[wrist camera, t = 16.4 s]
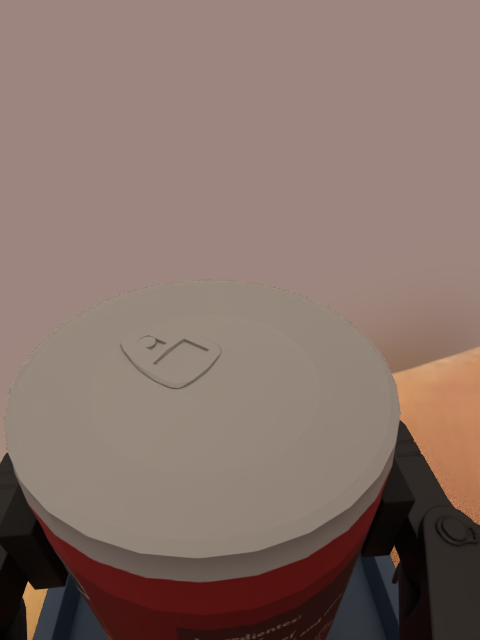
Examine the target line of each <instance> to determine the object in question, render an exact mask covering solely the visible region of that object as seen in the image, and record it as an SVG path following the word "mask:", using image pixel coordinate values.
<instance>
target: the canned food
mask: <svg viewBox="0 0 480 640" xmlns="http://www.w3.org/2000/svg"><path fill="white" fill-rule="evenodd" d="M400 414H401V412H400V405H399V399H398V392H397V385H396V383H395V380H394V378H393V376H392V374H391V371H390V369H389V367H388V365H387V362H386V360H385V359H384V358H383V356H382V355H381V354H380V352H379V351H378V350H377V348H376V347H375V346H374V344H373V343H372V342H371V340H370V339H369V338H368V337H367V336H365V335H364V334H363V333H362V332H361V331H360V330H359V329H358V328H357V327H356V326H354V325H353V324H352V323H351V322H350V321H348V320H347V319H345V318H344V317H342V316H340V315H339V314H338V313H336V312H334V311H333V310H331V309H330V308H328V307H326V306H324V305H322V304H319V303H317V302H315V301H313V300H311V299H309V298H307V297H304V296H301V295H298V294H295V293H292V292H289V291H286V290H283V289H279V288H275V287H271V286H266V285H262V284H257V283H249V282H241V281H232V280H192V281H179V282H172V283H165V284H159V285H154V286H150V287H146V288H142V289H138V290H134V291H130V292H127V293H124V294H122V295H119V296H116V297H113V298H110V299H107V300H105V301H103V302H101V303H99V304H97V305H95V306H93V307H91V308H89V309H87V310H85V311H83V312H81V313H80V314H78V315H76V316H75V317H73V318H72V319H70V320H69V321H67V322H65V323H64V324H62V325H61V326H60V327H58V328H57V329H56V330H55V331H54V332H53V333H51V334H50V335H49V336H48V337H47V338H46V339H45V340H43V341H42V342H41V343H40V344H39V345H38V347H37V348H36V349H35V350H34V351H33V353H32V354H31V355H30V357H29V358H28V359H27V360H26V361H25V363H24V364H23V365H22V367H21V369H20V371H19V373H18V375H17V377H16V379H15V381H14V383H13V385H12V387H11V389H10V392H9V396H8V401H7V405H6V410H5V414H4V427H5V439H6V449H7V452H8V454H9V456H10V459H11V461H12V463H13V467H14V472H15V475H16V477H17V479H18V482H19V484H20V486H21V489H22V491H23V493H24V496H25V498H26V500H27V502H28V505H29V506H30V508H31V510H32V511H33V513H34V515H35V516H36V518H37V520H38V521H39V523H40V525H41V526H42V528H43V530H44V533H45V535H46V537H47V539H48V541H49V542H50V544H51V546H52V547H53V549H54V550H55V552H56V554H57V555H58V557H59V559H60V560H61V562H62V563H63V565H64V567H65V568H66V570H67V571H68V573H69V575H70V576H71V578H72V580H73V581H74V583H75V584H76V586H77V588H78V589H79V591H80V592H81V594H82V596H83V597H84V599H85V600H86V602H87V604H88V605H89V607H90V609H91V610H92V612H93V613H94V615H95V617H96V618H97V620H98V621H99V623H100V625H101V626H102V628H103V630H104V631H105V633H106V634H107V636H108V638H109V639H110V640H326V639H327V636H328V634H329V631H330V629H331V626H332V623H333V621H334V618H335V616H336V613H337V611H338V608H339V606H340V603H341V600H342V598H343V595H344V593H345V590H346V588H347V585H348V583H349V580H350V577H351V575H352V572H353V570H354V567H355V565H356V562H357V559H358V557H359V554H360V552H361V549H362V547H363V544H364V542H365V539H366V536H367V534H368V531H369V529H370V526H371V524H372V521H373V519H374V516H375V513H376V511H377V508H378V506H379V503H380V501H381V496H382V491H383V489H384V486H385V483H386V481H387V478H388V475H389V473H390V470H391V468H392V464H393V457H394V451H395V445H396V439H397V433H398V426H399V420H400Z"/></svg>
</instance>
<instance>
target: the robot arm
mask: <svg viewBox="0 0 480 640" xmlns="http://www.w3.org/2000/svg"><path fill="white" fill-rule="evenodd" d="M394 545H395V548H396V550H397V553H398V555H399V558H400V562H399V564H398V566H397V568H396V570H395V572H394V574H393V578H392V583H393V584H396V583H397V581H398V596H399V640H480V525H478V524H476V523H474V522H473V521H472V520H471V519H470V518H469V517H468V516H466V515H465V514H464V513H463V512H461V511H459V510H457V509H455V508H454V507H453V505H452V504H451V502H450V501H449V500H448V498H447V496H446V495H445V493H444V491H443V489H442V488H441V486H440V484H439V482H438V481H437V479H436V477H435V476H434V474H433V472H432V470H431V469H430V467H429V465H428V463H427V462H426V460H425V458H424V456H423V455H421V451H420V450H419V448H418V446H417V444H416V443H415V442H414V439H413V437H412V436H411V434H410V432H409V430H408V429H407V427H406V425H405V424H404V423H403V422H402V421H400V420H399V426H398V433H397V439H396V445H395V451H394V457H393V464H392V468H391V470H390V473H389V475H388V478H387V481H386V483H385V486H384V489H383V491H382V496H381V501H380V503H379V506H378V508H377V511H376V513H375V516H374V519H373V521H372V524H371V526H370V529H369V531H368V534H367V536H366V539H365V542H364V544H363V547H362V549H361V554H362V557H363V558H366V557H376V556H387V555H390V553H391V551H392V549H393V547H394ZM68 574H69V573H68V571H67V570H66V568H65V567H64V565H63V563H62V562H61V560H60V559H59V557H58V555H57V554H56V552H55V550H54V549H53V547H52V546H51V544H50V542H49V541H48V539H47V537H46V535H45V533H44V530H43V528H42V526H41V525H40V523H39V521H38V520H37V518H36V516H35V515H34V513H33V511H32V510H31V508H30V506H29V505H28V502H27V500H26V498H25V496H24V493H23V491H22V489H21V486H20V484H19V482H18V479H17V477H16V475H15V472H14V467H13V463H12V461H11V459H10V456H9V454H8V452H7V453H6V455H5V456H4V458H3V460H2V461H1V463H0V640H27V621H26V606H25V603H24V599H23V598H22V596H23V594H24V591H25V588H26V585H27V582H28V581H29V583H30V584H31V585H32V586H33V588H34V589H35V590H37V589H47V588H57V587H65V585H66V582H67V578H68Z"/></svg>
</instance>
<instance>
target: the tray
mask: <svg viewBox="0 0 480 640" xmlns="http://www.w3.org/2000/svg"><path fill="white" fill-rule="evenodd" d="M395 570H396V569H395V566H394V564H393V561H392V559H391V556H390V555H387V556H376V557H366V558H363V557H362V554H361V552H360V554H359V557H358V559H357V562H356V565H355V567H354V570H353V572H352V575H351V577H350V580H349V583H348V585H347V588H346V590H345V593H344V595H343V598H342V600H341V603H340V606H339V608H338V611H337V613H336V616H335V618H334V621H333V623H332V626H331V629H330V631H329V634H328V636H327V639H326V640H399V596H398V581H397V583H396V584H393V583H392V578H393V574H394V572H395ZM33 640H110V639H109V638H108V636H107V634H106V633H105V631H104V630H103V628H102V626H101V625H100V623H99V621H98V620H97V618H96V617H95V615H94V613H93V612H92V610H91V609H90V607H89V605H88V604H87V602H86V600H85V599H84V597H83V596H82V594H81V592H80V591H79V589H78V588H77V586H76V584H75V583H74V581H73V580H72V578H71V576H70V575H69V574H68V578H67V582H66V585H65V587H57V588H48V590H47V594H46V597H45V600H44V604H43V607H42V610H41V614H40V617H39V620H38V624H37V627H36V630H35V634H34V637H33Z"/></svg>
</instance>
